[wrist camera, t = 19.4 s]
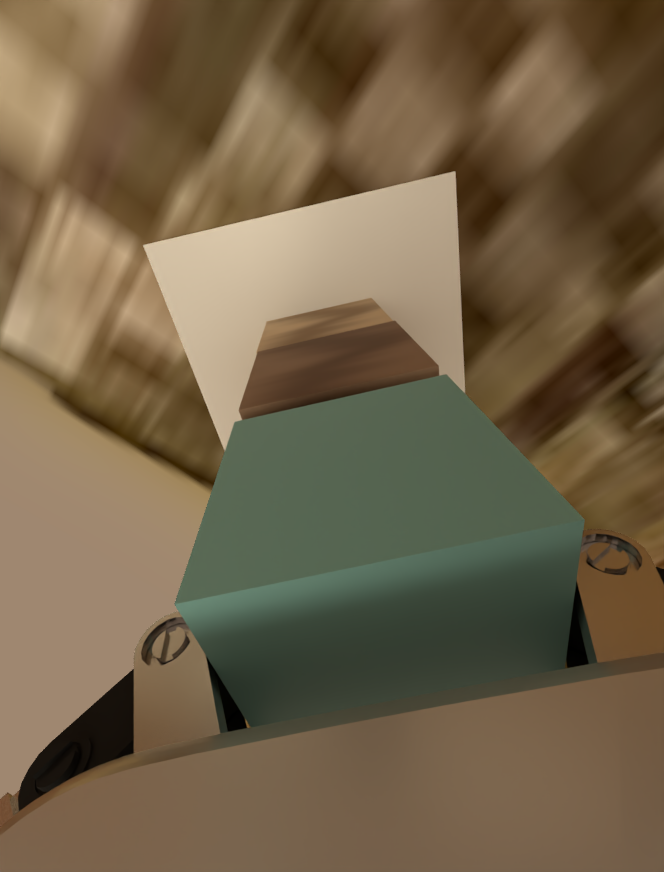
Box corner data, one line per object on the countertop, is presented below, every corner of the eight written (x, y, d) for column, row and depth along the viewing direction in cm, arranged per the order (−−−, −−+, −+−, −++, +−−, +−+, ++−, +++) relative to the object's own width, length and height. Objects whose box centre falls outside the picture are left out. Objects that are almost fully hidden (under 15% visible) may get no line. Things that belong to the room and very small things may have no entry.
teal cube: (446, 374, 11) (584, 519, 6) (458, 534, 14) (556, 730, 8) (234, 421, 11) (174, 604, 6) (290, 569, 14) (284, 781, 9)
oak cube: (371, 297, 22) (393, 321, 17) (385, 395, 25) (409, 441, 20) (266, 321, 22) (256, 352, 17) (293, 415, 25) (291, 466, 20)
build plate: (448, 173, 20) (455, 171, 19) (462, 438, 28) (467, 445, 27) (149, 244, 21) (143, 245, 20) (243, 484, 29) (241, 493, 28)
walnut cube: (395, 320, 17) (438, 365, 11) (410, 440, 20) (451, 520, 14) (257, 351, 17) (238, 410, 12) (292, 466, 20) (289, 554, 15)
